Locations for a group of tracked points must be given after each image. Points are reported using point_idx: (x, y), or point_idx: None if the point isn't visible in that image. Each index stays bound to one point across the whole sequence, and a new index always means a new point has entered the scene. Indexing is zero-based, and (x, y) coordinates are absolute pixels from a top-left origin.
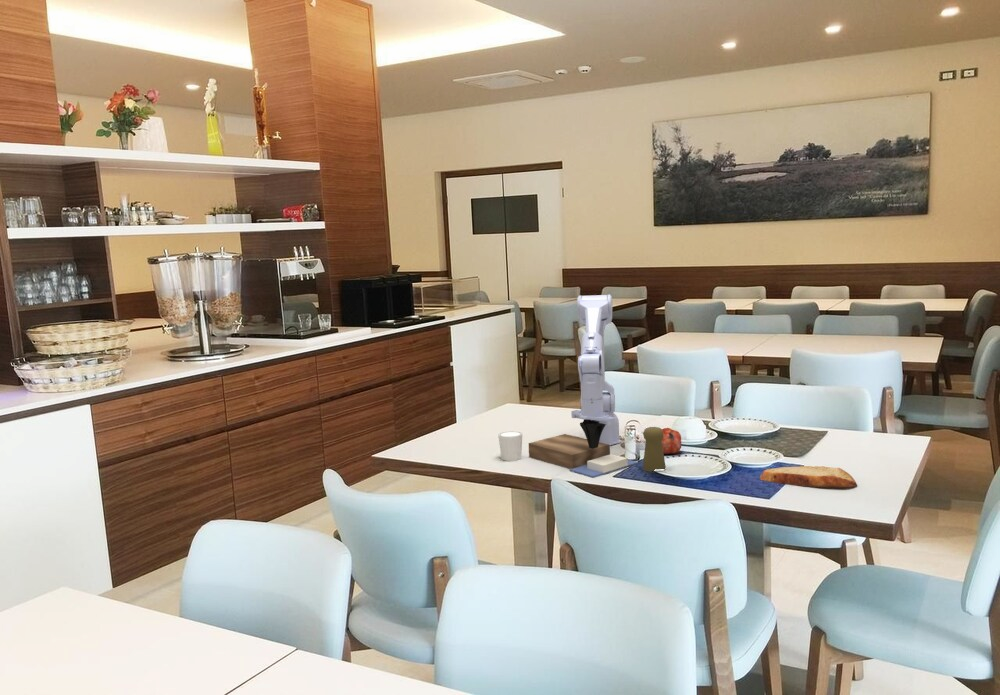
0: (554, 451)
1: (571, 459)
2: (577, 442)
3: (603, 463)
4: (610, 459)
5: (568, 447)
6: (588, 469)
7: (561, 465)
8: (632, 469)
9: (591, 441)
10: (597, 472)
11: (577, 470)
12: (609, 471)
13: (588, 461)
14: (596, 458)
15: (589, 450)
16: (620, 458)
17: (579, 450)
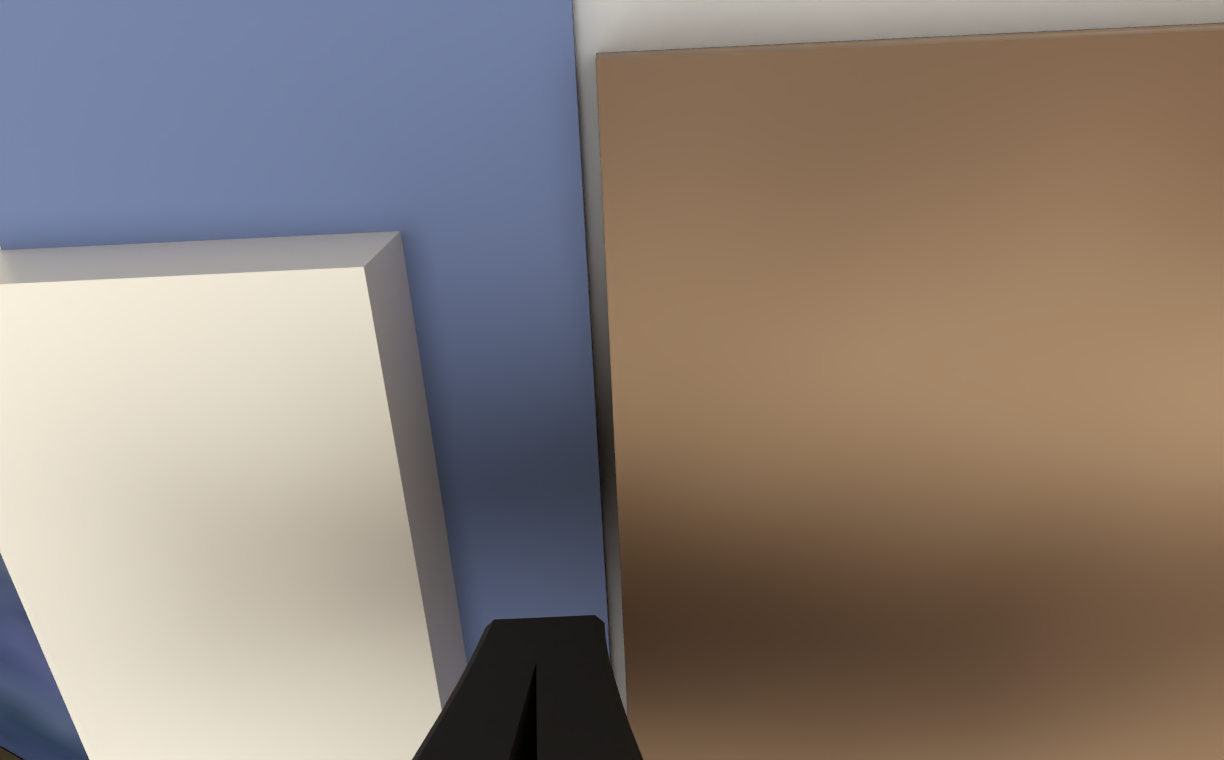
0: None
1: (640, 54)
2: (1199, 756)
3: (23, 379)
4: (189, 609)
5: (1148, 438)
6: (335, 202)
7: (921, 37)
8: (48, 665)
9: (442, 737)
10: (83, 193)
11: (411, 3)
12: None
13: (323, 268)
14: (398, 498)
15: (623, 588)
16: (151, 731)
17: (766, 445)
